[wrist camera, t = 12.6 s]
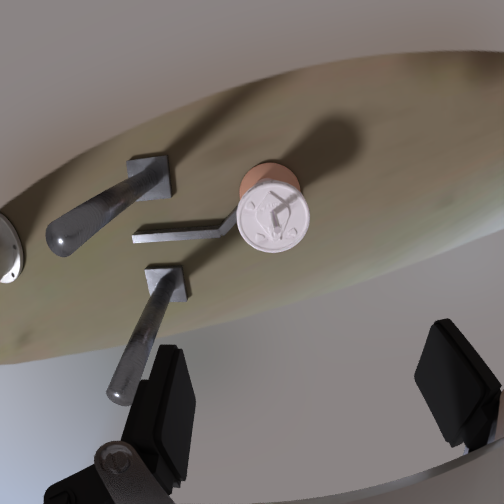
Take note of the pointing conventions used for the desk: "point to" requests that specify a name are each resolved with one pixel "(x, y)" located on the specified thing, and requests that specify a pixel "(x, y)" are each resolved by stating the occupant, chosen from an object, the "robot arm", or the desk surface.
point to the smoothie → (272, 216)
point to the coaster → (268, 176)
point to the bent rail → (187, 231)
